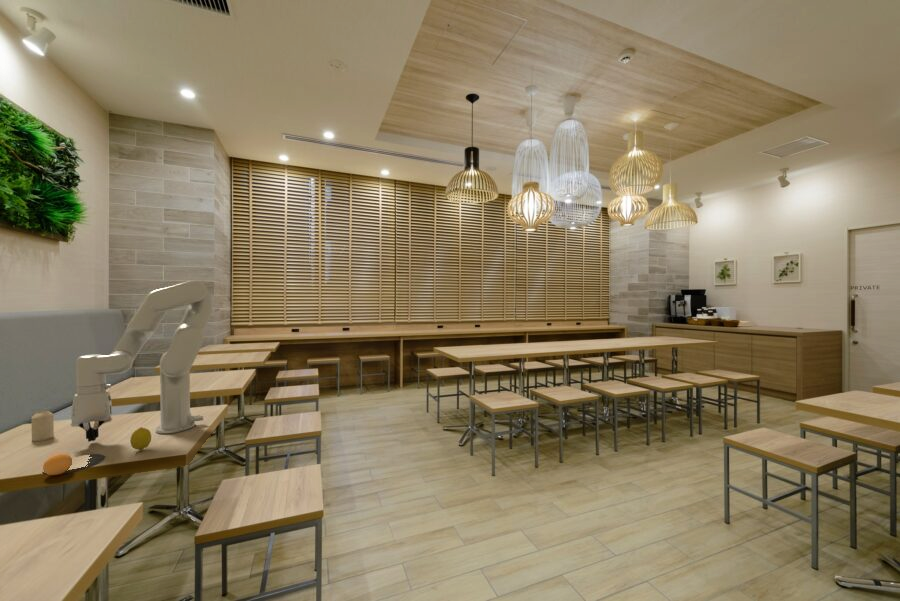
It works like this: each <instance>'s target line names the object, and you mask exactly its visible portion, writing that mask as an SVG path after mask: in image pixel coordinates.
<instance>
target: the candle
mask: <svg viewBox="0 0 900 601" xmlns="http://www.w3.org/2000/svg"><path fill="white" fill-rule="evenodd" d="M30 420H31V441H32V442H40V441H41V442H42V441H46V439H47V440H50V439H52V438H54V435H55V432H54V431H55V429H54V422H55V421H54V413H52V412H51V411H47V410H44V411H41V412H38V411H37V412H36V413H35V414H34V415H33V416H31V419H30ZM51 437H52V438H51ZM49 438H50V439H49Z"/></svg>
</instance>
